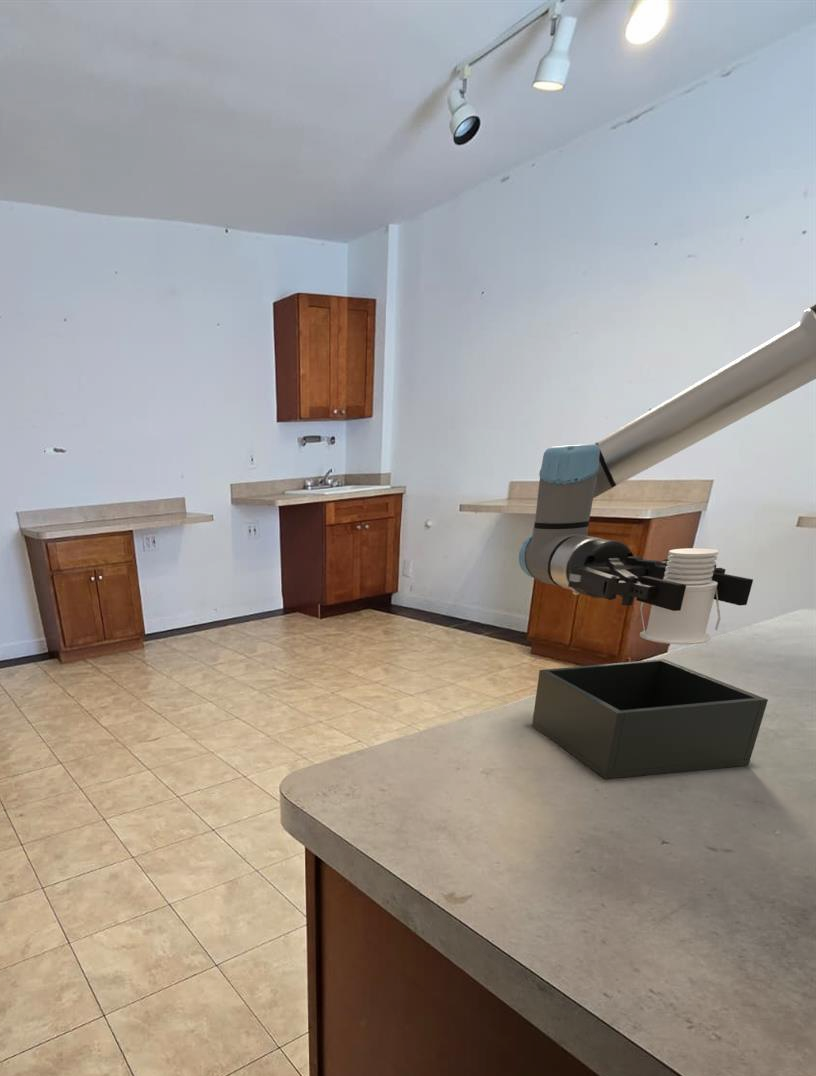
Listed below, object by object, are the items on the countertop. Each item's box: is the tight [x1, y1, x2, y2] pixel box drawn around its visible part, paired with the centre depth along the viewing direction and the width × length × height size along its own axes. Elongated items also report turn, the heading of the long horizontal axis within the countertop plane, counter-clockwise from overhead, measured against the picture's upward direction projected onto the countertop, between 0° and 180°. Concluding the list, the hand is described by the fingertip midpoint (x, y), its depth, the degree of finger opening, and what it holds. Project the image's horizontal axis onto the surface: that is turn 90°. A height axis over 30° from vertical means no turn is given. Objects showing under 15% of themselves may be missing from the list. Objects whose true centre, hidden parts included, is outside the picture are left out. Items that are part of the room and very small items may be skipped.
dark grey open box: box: [531, 658, 769, 780], centre depth 77 cm, size 17×17×8 cm
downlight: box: [639, 547, 721, 645], centre depth 73 cm, size 8×7×10 cm
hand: (713, 595), depth 68 cm, fingers closed on downlight, 7 cm apart
